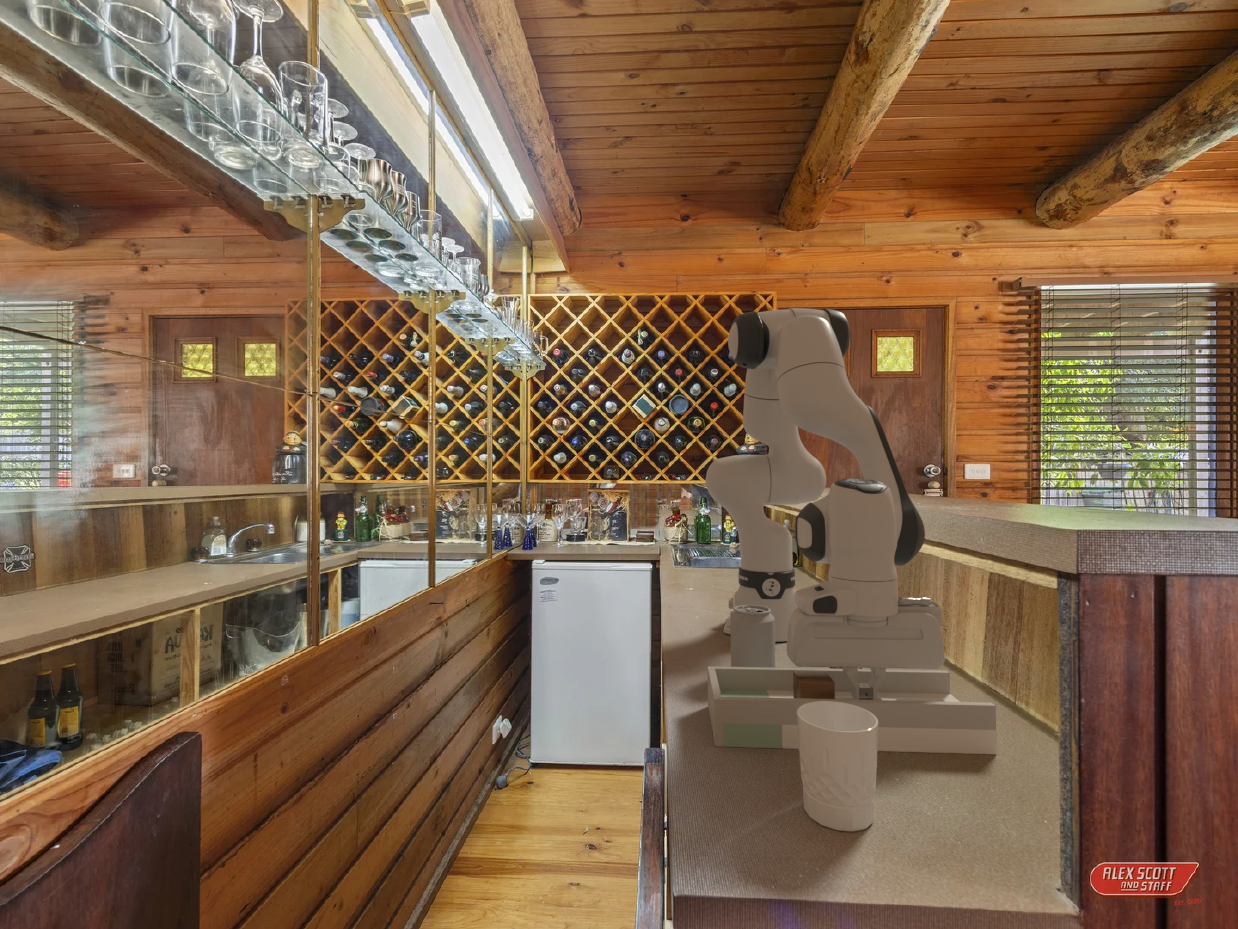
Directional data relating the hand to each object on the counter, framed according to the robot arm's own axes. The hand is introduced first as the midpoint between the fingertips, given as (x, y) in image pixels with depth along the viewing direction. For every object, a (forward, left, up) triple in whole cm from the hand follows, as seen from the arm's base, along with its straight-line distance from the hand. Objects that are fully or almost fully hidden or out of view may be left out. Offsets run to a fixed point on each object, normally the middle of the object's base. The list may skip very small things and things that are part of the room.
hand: (864, 698), depth 80 cm
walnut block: (0, -7, -1) cm, 7 cm away
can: (-19, -12, -4) cm, 23 cm away
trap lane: (0, -4, -4) cm, 6 cm away
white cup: (+21, -9, -4) cm, 23 cm away
